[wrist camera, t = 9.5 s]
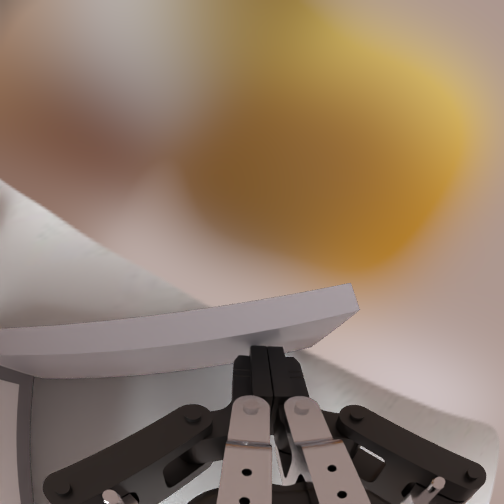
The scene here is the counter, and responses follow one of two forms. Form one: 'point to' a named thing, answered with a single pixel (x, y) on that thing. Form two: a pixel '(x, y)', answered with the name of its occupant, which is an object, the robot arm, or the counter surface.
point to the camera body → (15, 436)
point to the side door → (176, 337)
